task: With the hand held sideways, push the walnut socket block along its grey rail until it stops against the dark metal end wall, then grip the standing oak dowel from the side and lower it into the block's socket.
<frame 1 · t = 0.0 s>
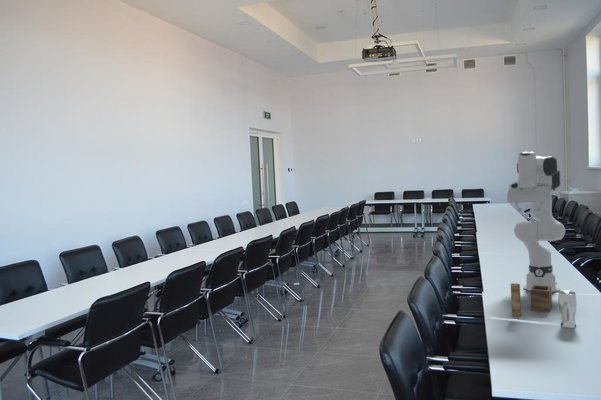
hand: (529, 211, 248), 48 cm above the table, tool pointing down, fingers open, 8 cm apart
beer glass: (568, 326, 216), on the table
dowel: (516, 317, 232), on the table
socket block: (541, 298, 240), point 6 cm above the table, slide at 6.0 cm
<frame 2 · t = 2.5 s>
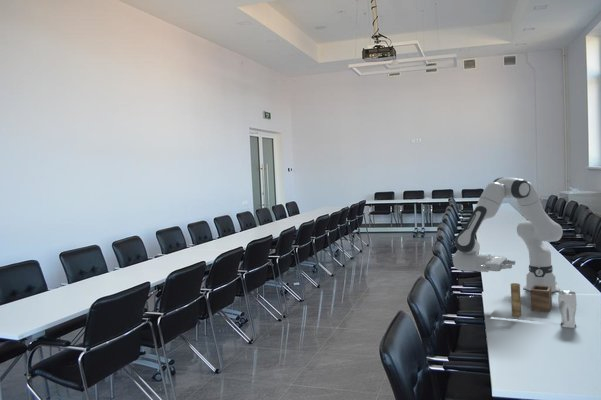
hand: (513, 264, 245), 22 cm above the table, tool horizontal, fingers open, 8 cm apart
nothing on the table moved.
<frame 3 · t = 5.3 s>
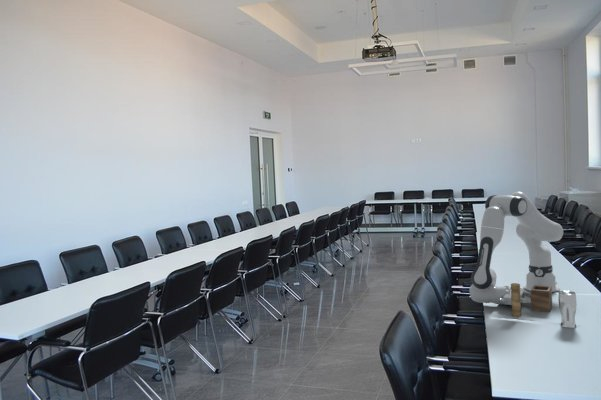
hand: (532, 297, 242), 6 cm above the table, tool horizontal, fingers open, 8 cm apart
socket block: (541, 298, 240), point 6 cm above the table, slide at 5.9 cm, touching gripper
everything else where it was.
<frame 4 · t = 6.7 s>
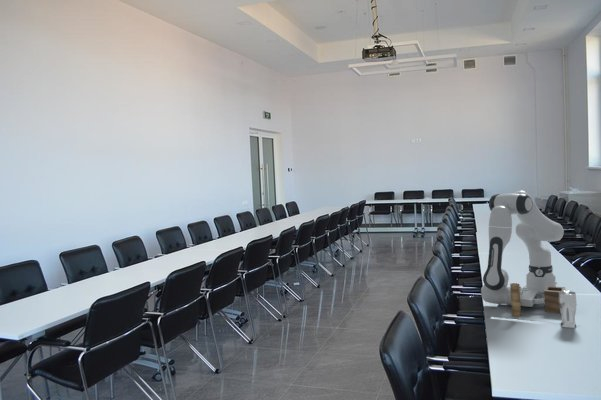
hand: (545, 298, 239), 6 cm above the table, tool horizontal
socket block: (555, 299, 236), point 6 cm above the table, slide at 0.0 cm, touching gripper
everything else where it was.
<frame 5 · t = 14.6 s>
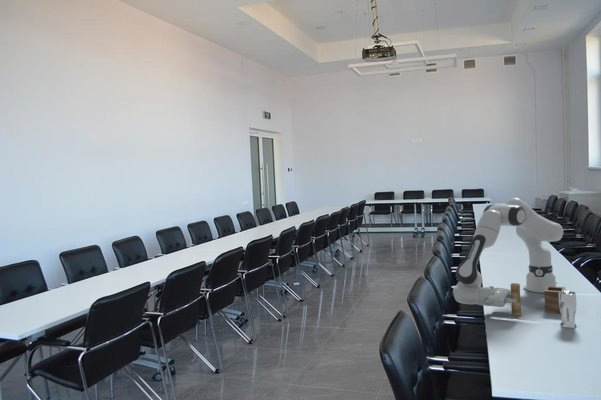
hand: (517, 298, 231), 9 cm above the table, tool horizontal, fingers closed on dowel, 4 cm apart
dowel: (516, 317, 232), on the table, touching gripper
socket block: (555, 299, 236), point 6 cm above the table, slide at 0.0 cm
everything else where it was.
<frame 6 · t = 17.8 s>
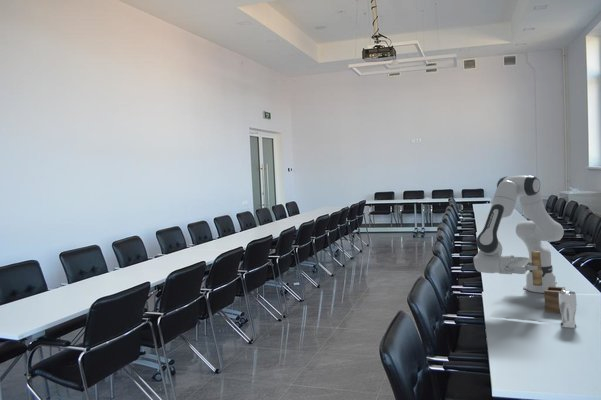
hand: (538, 266, 233), 23 cm above the table, tool horizontal, fingers closed on dowel, 4 cm apart
dowel: (537, 284, 234), point 14 cm above the table, touching gripper
everything else where it was.
when the fingers open (15 cm above the table, at t = 21.0 s): dowel stays where it is, resting on socket block.
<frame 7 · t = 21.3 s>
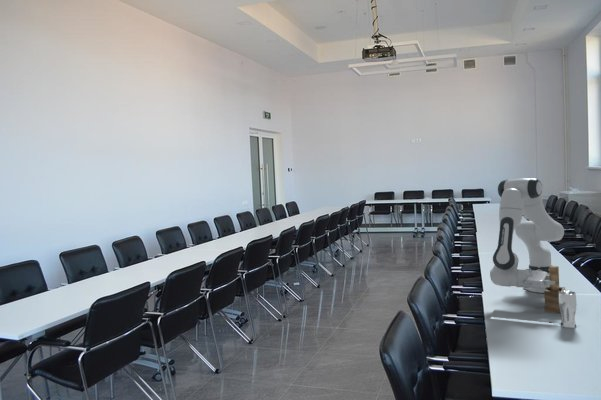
hand: (556, 280, 235), 15 cm above the table, tool horizontal, fingers open, 7 cm apart
dowel: (555, 299, 236), point 6 cm above the table, touching socket block
socket block: (555, 299, 236), point 6 cm above the table, slide at 0.0 cm, touching dowel
everything else where it was.
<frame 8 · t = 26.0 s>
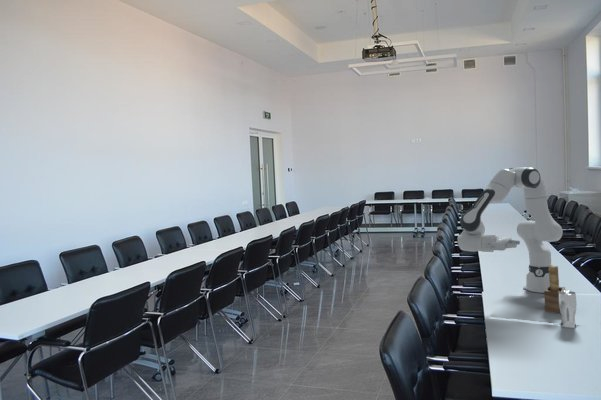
hand: (518, 244, 247), 32 cm above the table, tool horizontal, fingers open, 8 cm apart
nothing on the table moved.
at the end: socket block slide at 0.0 cm; dowel 0.0 cm from the target spot, point 6.1 cm above the table; dowel tilted 1° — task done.
